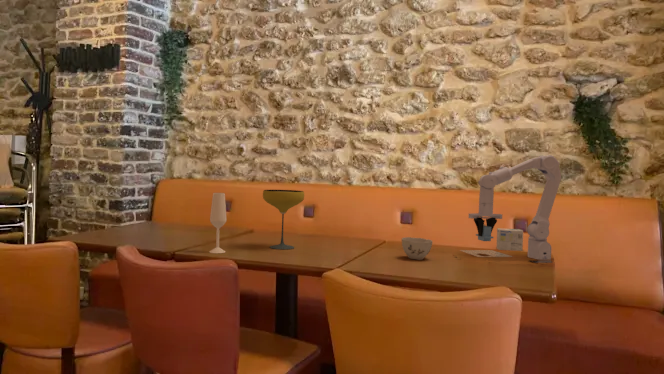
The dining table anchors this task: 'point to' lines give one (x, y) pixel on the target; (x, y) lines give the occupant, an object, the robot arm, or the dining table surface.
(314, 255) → the dining table surface
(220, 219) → the champagne flute
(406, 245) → the teacup
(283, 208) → the cocktail glass
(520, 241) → the light bulb box
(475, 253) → the silver flat plate
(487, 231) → the servo
